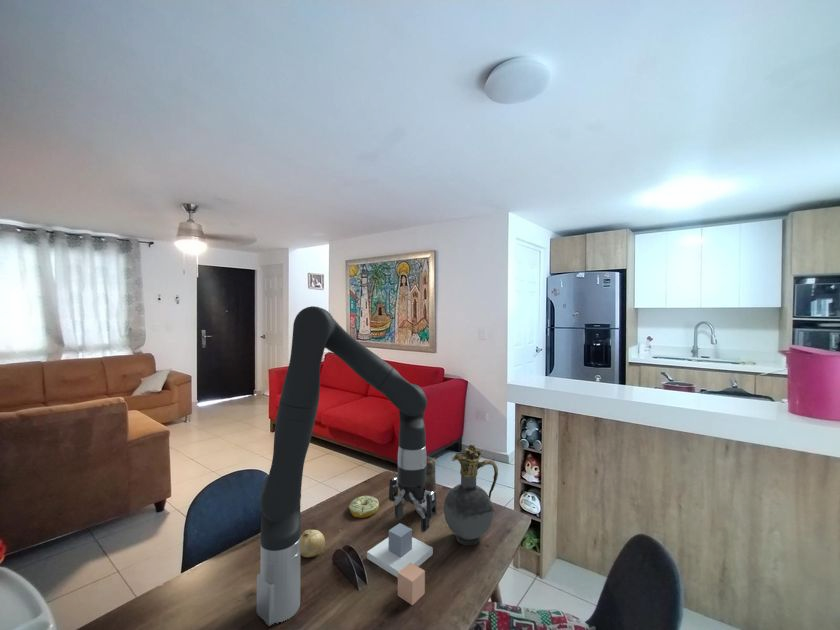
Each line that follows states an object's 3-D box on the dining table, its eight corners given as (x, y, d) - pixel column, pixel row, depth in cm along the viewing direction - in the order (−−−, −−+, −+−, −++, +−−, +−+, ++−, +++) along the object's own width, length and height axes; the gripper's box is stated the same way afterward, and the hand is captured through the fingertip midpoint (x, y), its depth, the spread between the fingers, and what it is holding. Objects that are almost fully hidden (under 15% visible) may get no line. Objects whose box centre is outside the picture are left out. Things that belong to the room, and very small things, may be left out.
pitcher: (439, 534, 119) (439, 444, 119) (487, 521, 127) (488, 436, 127) (454, 555, 109) (455, 456, 109) (506, 540, 117) (507, 447, 117)
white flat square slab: (402, 580, 99) (402, 573, 99) (366, 558, 108) (367, 551, 108) (432, 554, 110) (432, 547, 110) (398, 536, 118) (398, 530, 118)
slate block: (400, 557, 105) (401, 537, 105) (388, 550, 108) (388, 530, 108) (411, 549, 109) (412, 529, 109) (399, 542, 112) (399, 523, 112)
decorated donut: (343, 512, 133) (343, 502, 133) (365, 500, 141) (365, 491, 141) (362, 523, 126) (362, 512, 126) (384, 510, 134) (384, 500, 134)
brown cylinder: (412, 508, 135) (413, 455, 135) (430, 504, 138) (430, 452, 138) (421, 519, 128) (421, 463, 128) (439, 515, 131) (440, 460, 131)
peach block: (412, 605, 91) (412, 581, 91) (397, 595, 94) (397, 572, 94) (424, 593, 94) (424, 570, 94) (410, 584, 98) (410, 562, 98)
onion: (312, 541, 116) (312, 519, 115) (330, 550, 111) (330, 527, 111) (291, 555, 109) (291, 532, 109) (310, 565, 105) (310, 541, 105)
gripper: (382, 460, 96) (381, 521, 96) (424, 475, 87) (424, 542, 87) (401, 451, 101) (400, 509, 102) (442, 465, 93) (442, 528, 93)
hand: (411, 524), depth 94 cm, fingers open, 8 cm apart
